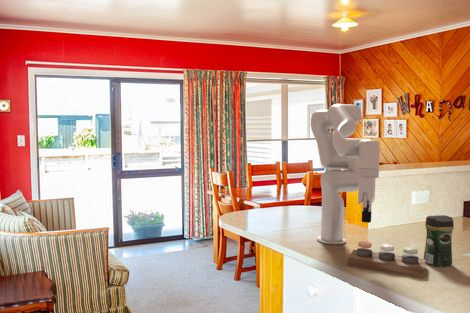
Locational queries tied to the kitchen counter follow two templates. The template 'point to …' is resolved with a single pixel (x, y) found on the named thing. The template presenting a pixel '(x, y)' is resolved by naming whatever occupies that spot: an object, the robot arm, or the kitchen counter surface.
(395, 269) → the button board
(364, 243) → the terracotta button
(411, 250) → the sage button
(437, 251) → the coffee jar
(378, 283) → the kitchen counter surface
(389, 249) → the white button
